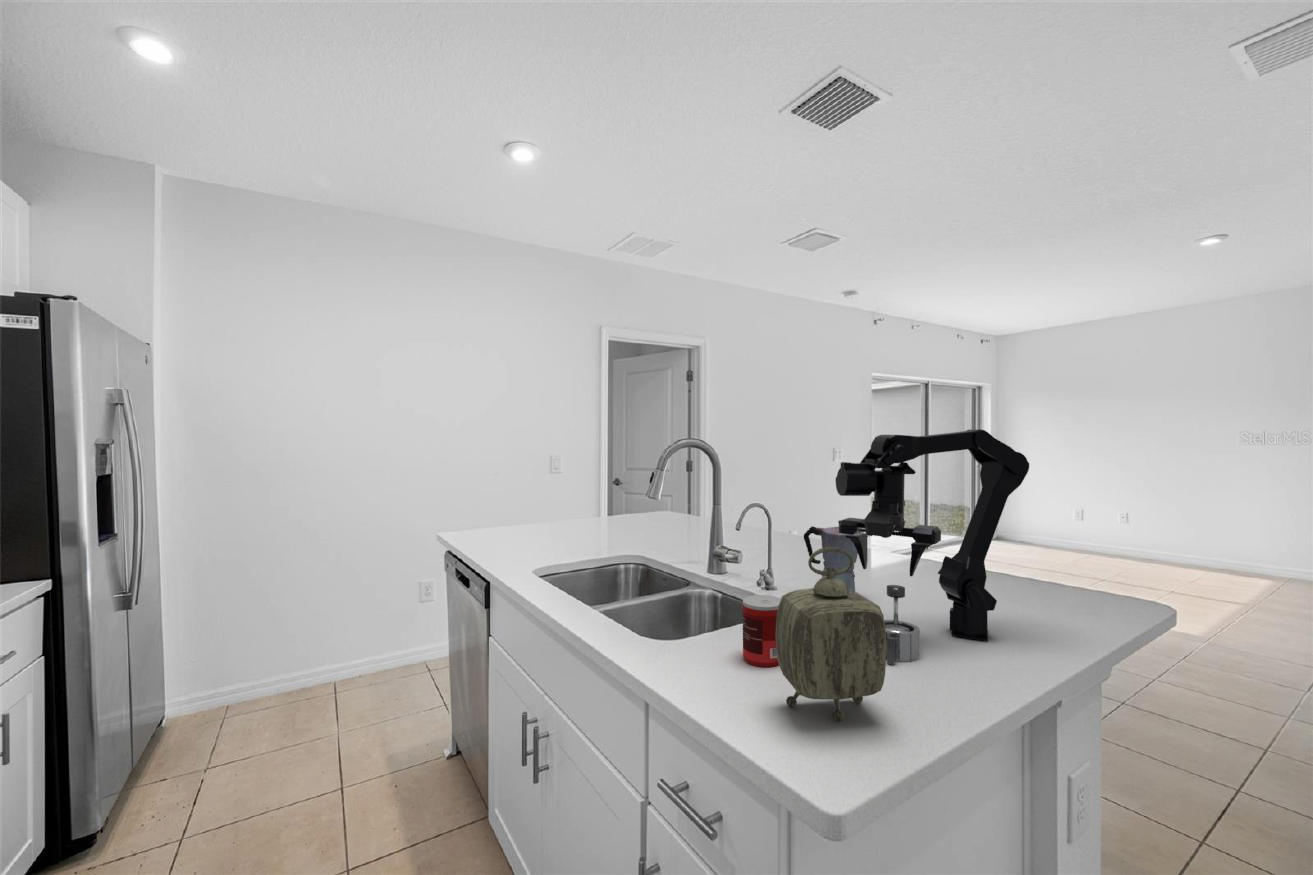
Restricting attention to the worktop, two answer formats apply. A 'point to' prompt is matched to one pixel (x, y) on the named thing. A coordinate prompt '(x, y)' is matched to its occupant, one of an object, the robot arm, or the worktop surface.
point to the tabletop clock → (831, 640)
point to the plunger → (896, 607)
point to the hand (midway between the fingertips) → (887, 572)
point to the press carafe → (902, 643)
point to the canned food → (760, 630)
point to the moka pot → (835, 559)
